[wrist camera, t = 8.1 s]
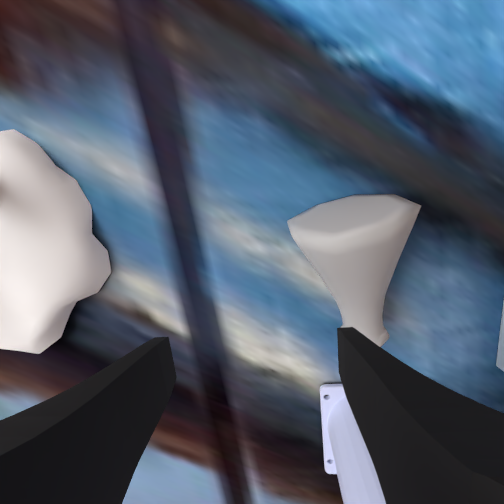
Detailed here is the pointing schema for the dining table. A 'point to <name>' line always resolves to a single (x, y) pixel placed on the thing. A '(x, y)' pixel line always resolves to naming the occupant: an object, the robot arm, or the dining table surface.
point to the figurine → (42, 246)
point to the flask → (357, 252)
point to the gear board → (501, 345)
